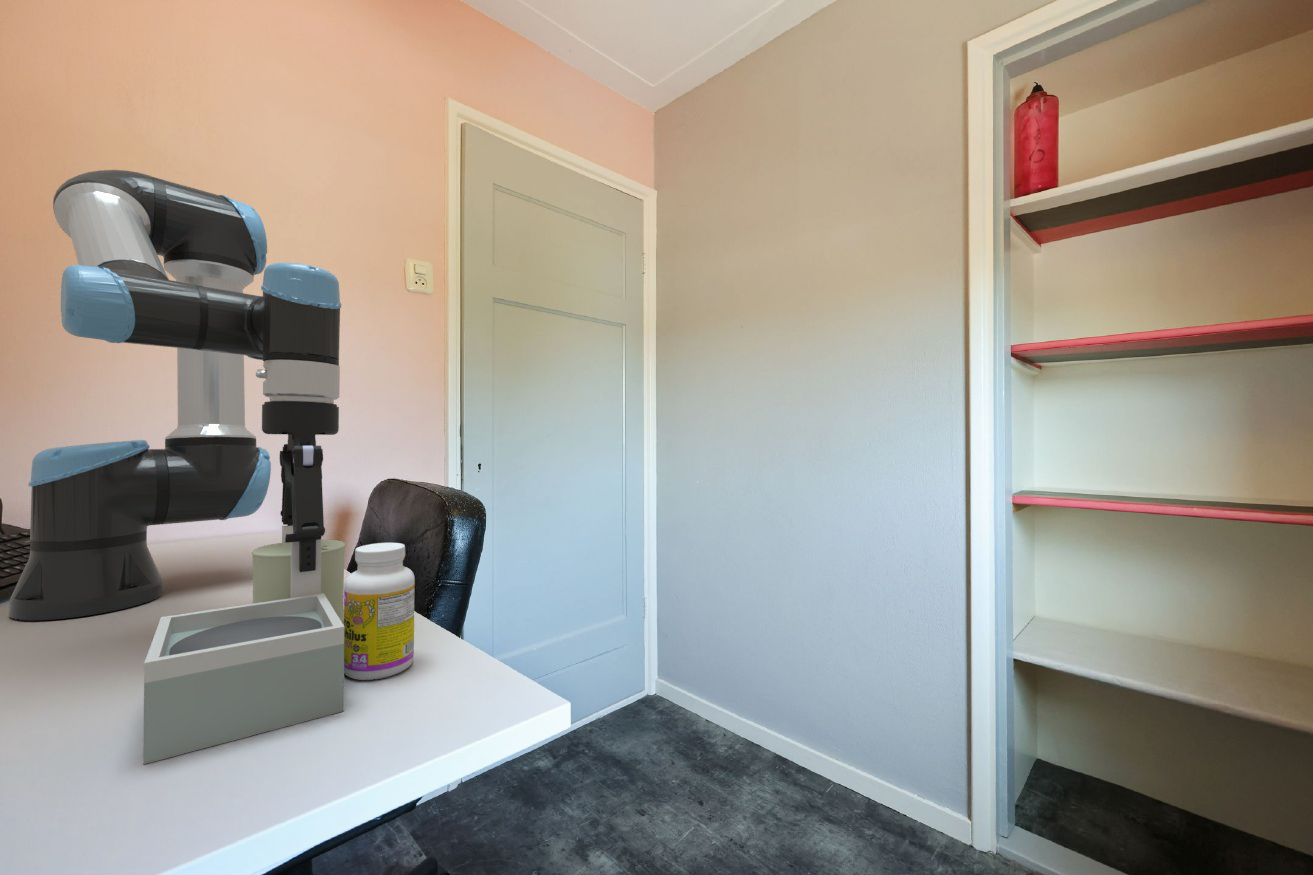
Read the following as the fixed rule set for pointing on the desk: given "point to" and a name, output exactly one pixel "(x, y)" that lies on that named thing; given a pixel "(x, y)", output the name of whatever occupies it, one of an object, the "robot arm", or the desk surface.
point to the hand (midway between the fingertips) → (299, 588)
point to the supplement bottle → (378, 613)
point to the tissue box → (240, 673)
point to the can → (276, 573)
